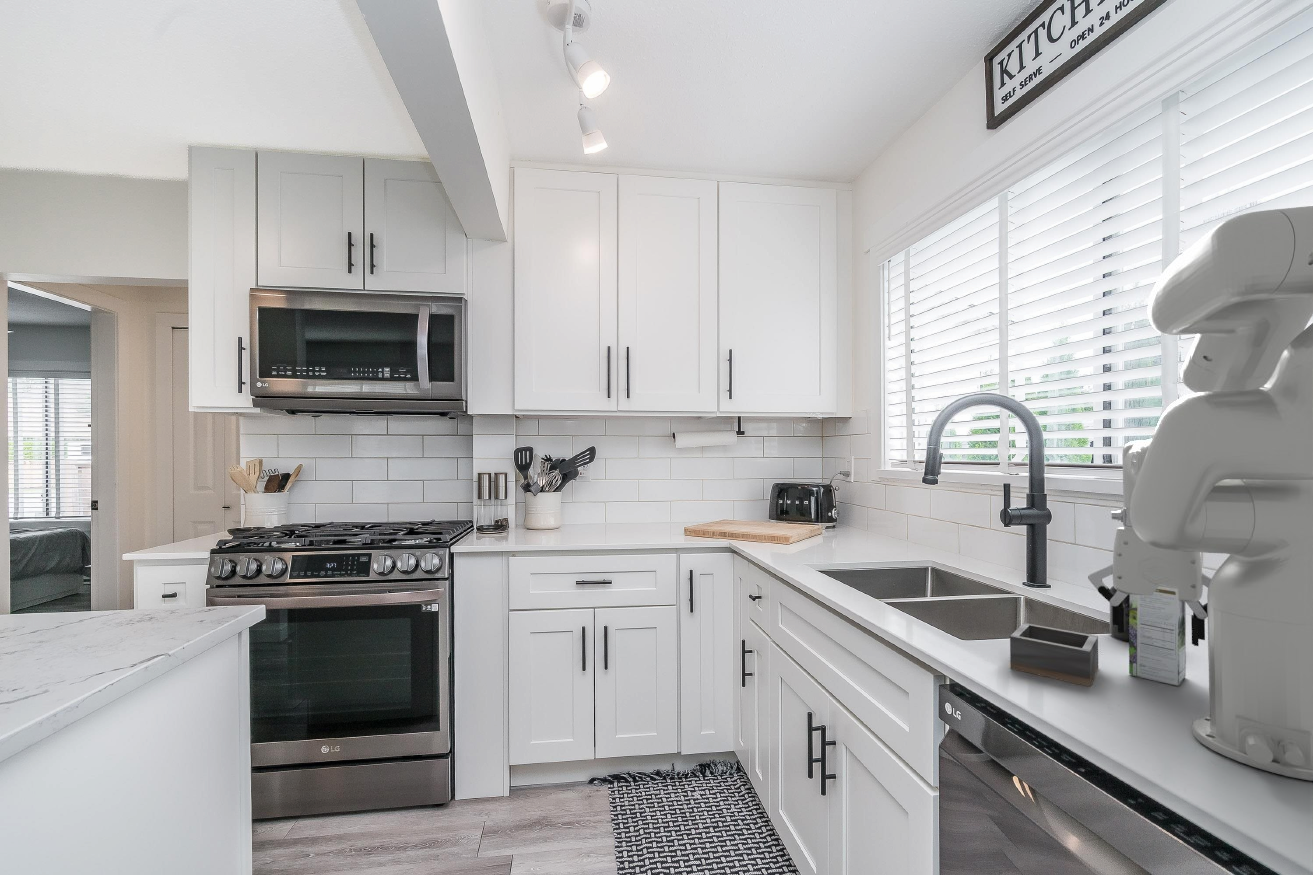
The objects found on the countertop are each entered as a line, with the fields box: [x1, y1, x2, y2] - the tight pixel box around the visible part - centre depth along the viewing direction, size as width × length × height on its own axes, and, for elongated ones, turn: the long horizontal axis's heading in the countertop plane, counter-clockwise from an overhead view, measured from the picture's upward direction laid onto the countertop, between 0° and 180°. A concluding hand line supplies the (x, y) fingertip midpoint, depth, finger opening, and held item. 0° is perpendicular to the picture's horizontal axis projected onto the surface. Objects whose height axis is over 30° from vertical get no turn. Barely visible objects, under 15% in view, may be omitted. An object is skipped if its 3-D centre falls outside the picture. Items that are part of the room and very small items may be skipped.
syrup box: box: [1128, 583, 1187, 686], centre depth 86 cm, size 6×6×14 cm
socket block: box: [1009, 622, 1099, 687], centre depth 89 cm, size 10×10×5 cm
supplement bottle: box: [1108, 585, 1130, 642], centre depth 104 cm, size 7×7×12 cm
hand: (1157, 636), depth 86 cm, fingers open, 7 cm apart
